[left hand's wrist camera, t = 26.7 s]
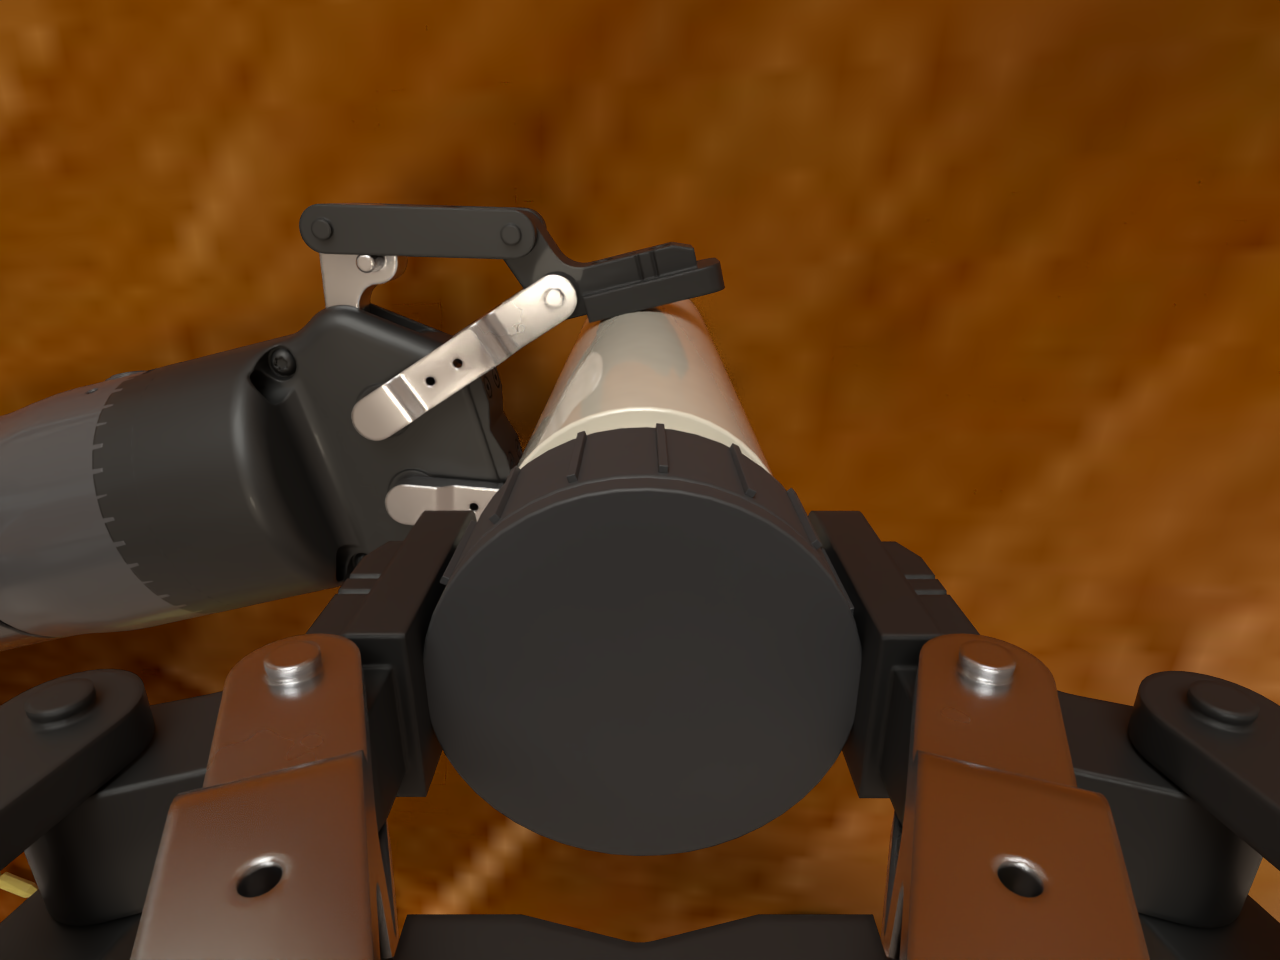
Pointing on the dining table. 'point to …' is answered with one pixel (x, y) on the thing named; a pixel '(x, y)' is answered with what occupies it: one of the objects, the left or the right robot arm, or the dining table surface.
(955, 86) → the dining table surface
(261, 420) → the right robot arm
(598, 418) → the bottle
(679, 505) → the lid
